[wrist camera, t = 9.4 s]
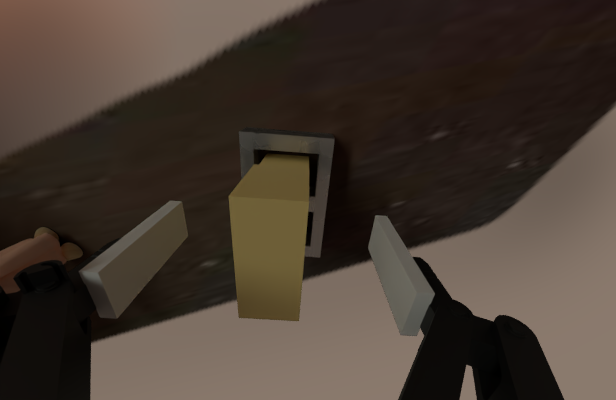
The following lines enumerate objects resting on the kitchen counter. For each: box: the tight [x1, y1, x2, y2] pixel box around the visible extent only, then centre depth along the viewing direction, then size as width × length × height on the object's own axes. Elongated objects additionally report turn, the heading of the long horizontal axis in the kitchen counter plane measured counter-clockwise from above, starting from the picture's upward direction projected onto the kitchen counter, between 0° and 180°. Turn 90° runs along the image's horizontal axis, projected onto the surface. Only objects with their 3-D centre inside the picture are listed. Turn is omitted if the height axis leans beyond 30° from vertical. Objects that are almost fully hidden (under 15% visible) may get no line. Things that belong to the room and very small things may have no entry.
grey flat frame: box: [239, 127, 335, 257], centre depth 20 cm, size 7×11×2 cm, turn 176°
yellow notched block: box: [229, 153, 309, 321], centre depth 16 cm, size 4×8×10 cm, turn 176°
